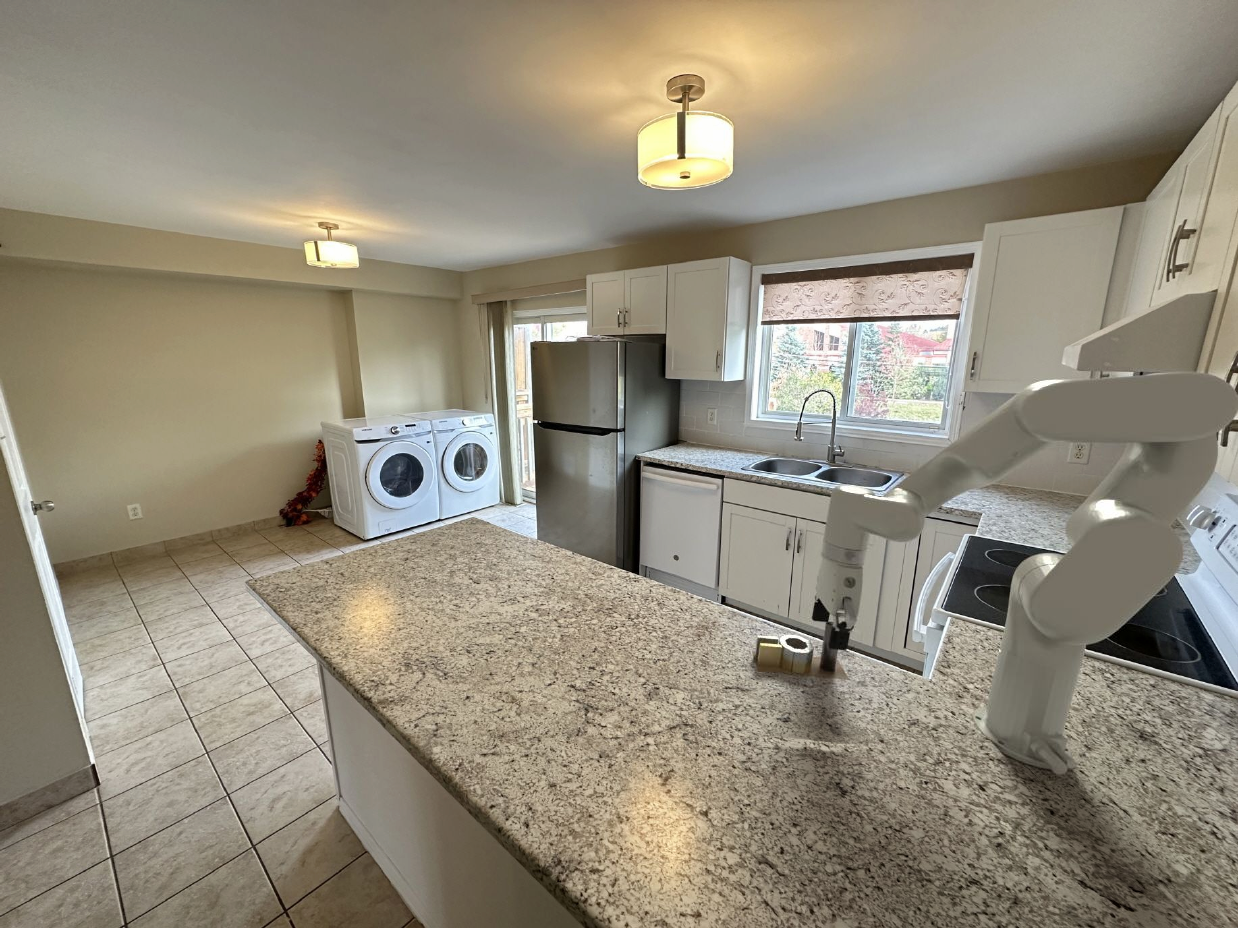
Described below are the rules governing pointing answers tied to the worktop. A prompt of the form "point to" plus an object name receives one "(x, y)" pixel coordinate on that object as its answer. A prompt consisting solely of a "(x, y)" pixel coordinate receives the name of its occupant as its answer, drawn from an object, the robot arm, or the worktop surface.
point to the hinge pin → (828, 651)
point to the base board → (814, 671)
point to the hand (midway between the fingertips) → (828, 634)
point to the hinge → (784, 653)
